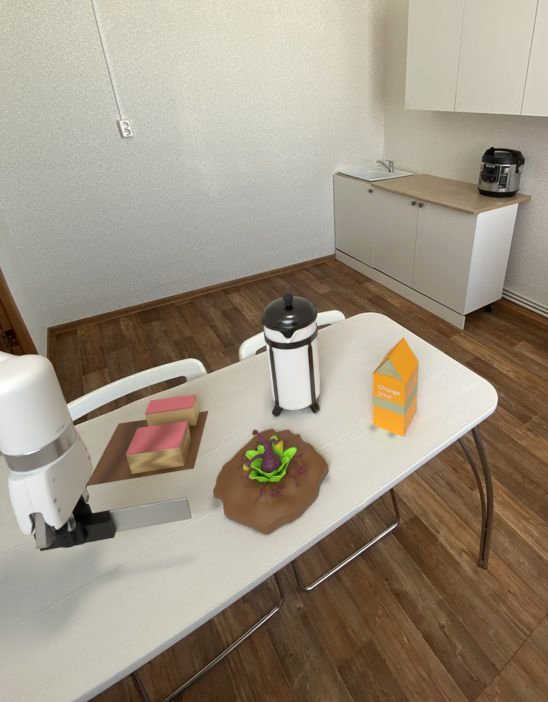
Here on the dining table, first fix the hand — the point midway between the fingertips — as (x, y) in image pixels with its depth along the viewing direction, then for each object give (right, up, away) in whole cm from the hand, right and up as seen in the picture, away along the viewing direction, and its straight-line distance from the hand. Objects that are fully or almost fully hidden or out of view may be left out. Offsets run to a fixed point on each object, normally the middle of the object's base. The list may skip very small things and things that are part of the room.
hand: (78, 533), depth 58 cm
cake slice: (0, +3, +31) cm, 31 cm away
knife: (+5, 0, +1) cm, 6 cm away
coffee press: (+26, +5, +40) cm, 48 cm away
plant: (+26, -3, +18) cm, 31 cm away
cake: (-2, 0, +26) cm, 26 cm away
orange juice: (+51, +3, +33) cm, 61 cm away
